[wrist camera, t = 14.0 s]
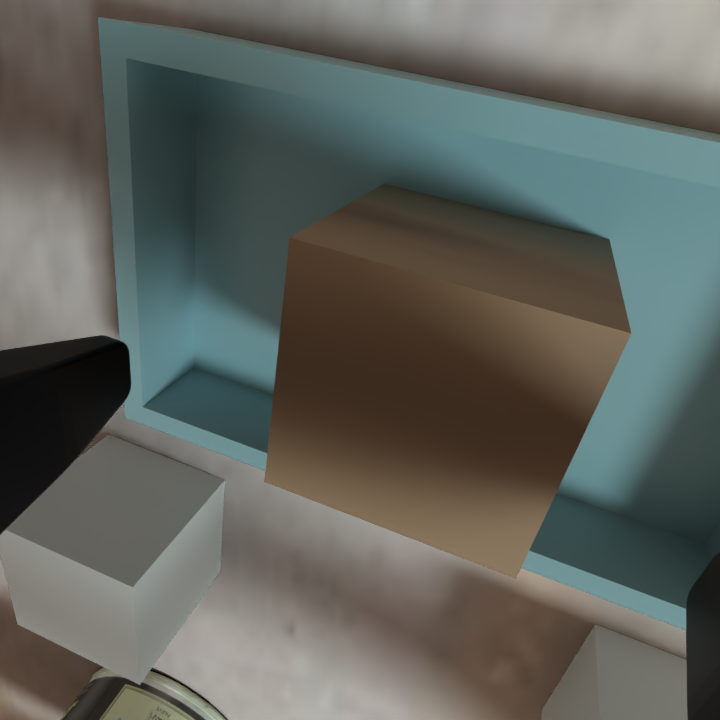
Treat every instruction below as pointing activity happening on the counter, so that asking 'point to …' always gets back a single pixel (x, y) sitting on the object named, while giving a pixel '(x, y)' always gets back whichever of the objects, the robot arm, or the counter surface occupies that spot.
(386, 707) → the counter surface
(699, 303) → the tray
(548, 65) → the counter surface
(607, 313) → the walnut block
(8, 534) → the grey block left
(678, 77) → the counter surface
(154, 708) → the coffee can
